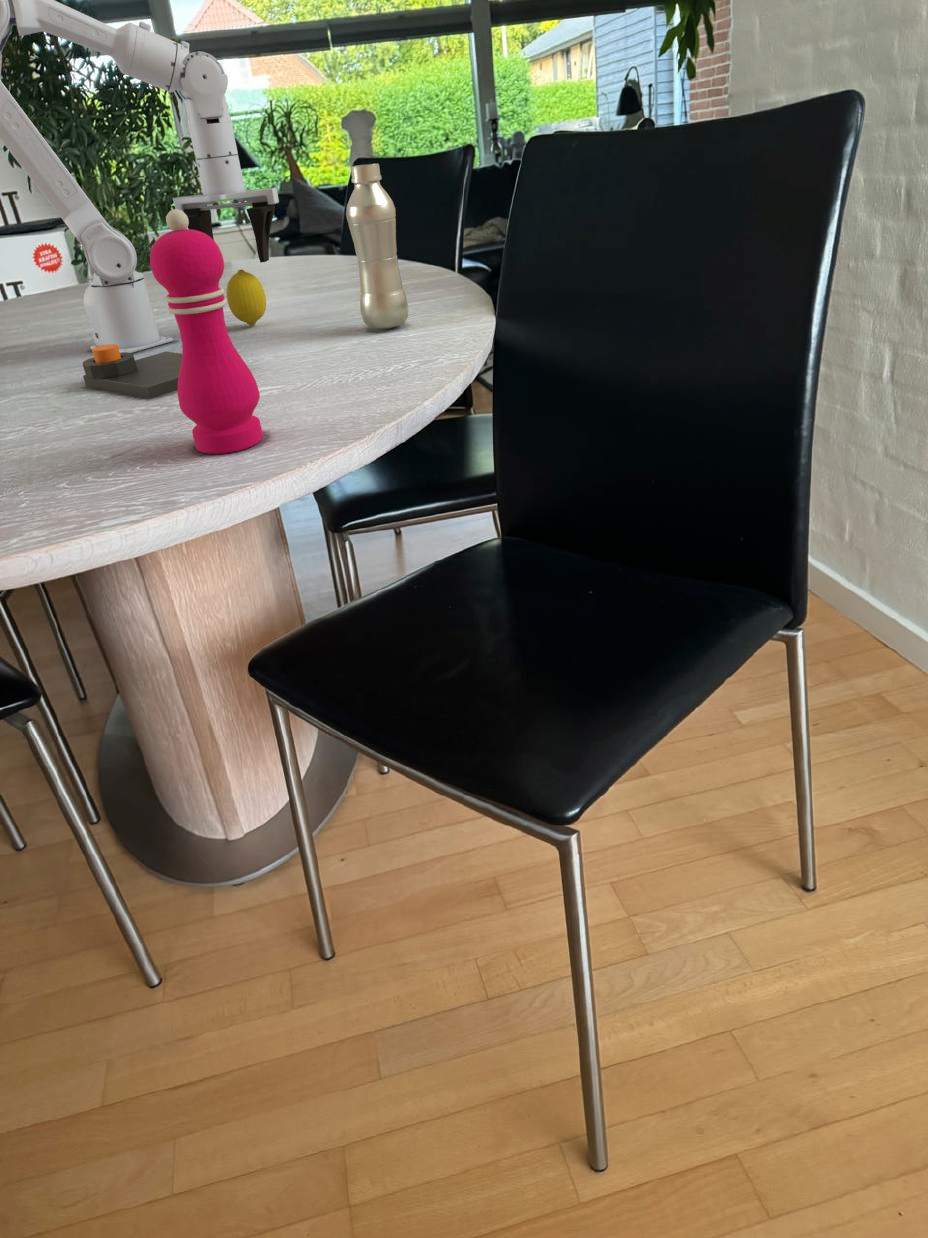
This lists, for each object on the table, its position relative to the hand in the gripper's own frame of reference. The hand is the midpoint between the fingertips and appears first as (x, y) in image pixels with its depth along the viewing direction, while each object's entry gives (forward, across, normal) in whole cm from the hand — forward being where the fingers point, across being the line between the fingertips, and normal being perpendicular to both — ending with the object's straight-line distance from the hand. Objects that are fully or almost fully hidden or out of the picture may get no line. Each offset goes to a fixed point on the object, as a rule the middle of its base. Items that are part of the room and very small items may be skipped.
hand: (239, 263), depth 125 cm
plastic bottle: (+9, +22, -8) cm, 25 cm away
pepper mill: (+9, +16, -54) cm, 57 cm away
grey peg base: (+9, -2, -28) cm, 30 cm away
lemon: (+9, 0, 0) cm, 9 cm away
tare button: (+6, -8, -29) cm, 30 cm away
